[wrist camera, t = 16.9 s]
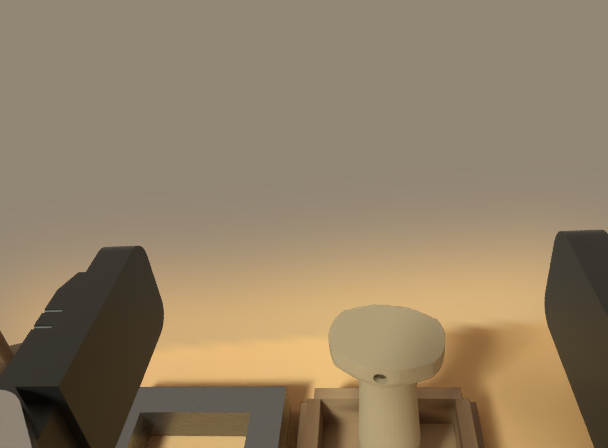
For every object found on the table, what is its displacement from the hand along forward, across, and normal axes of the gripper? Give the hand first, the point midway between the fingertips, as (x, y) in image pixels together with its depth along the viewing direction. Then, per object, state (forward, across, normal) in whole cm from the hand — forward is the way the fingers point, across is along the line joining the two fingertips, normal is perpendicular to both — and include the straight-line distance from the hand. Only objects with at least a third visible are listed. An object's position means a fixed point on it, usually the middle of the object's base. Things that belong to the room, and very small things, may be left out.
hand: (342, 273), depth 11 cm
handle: (+14, -1, +31) cm, 34 cm away
